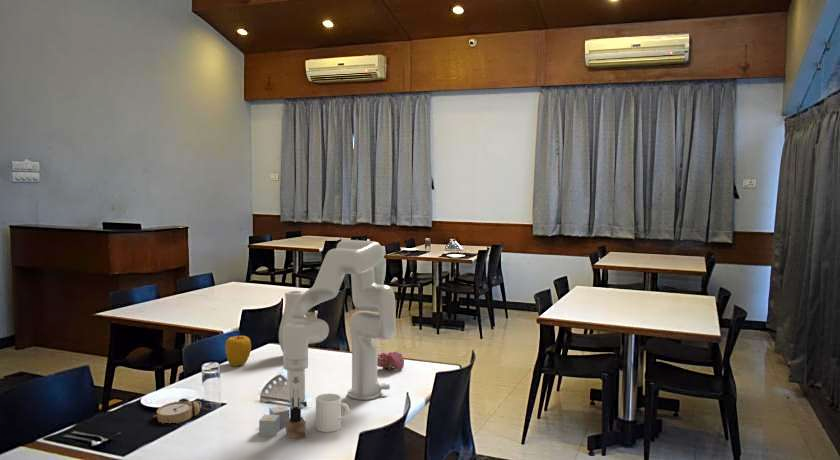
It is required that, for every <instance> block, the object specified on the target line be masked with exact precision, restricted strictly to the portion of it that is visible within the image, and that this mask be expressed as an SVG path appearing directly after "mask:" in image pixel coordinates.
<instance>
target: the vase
mask: <svg viewBox="0 0 840 460" xmlns="http://www.w3.org/2000/svg"><path fill="white" fill-rule="evenodd" d="M303 294H304V292H303V291H301V290H289V291H286V292H284V297H285V299H284V300H285V303H284V310H283V313H282V317H281V321H280V324H279V329H278V342H279V346H280V349H281V351H282V353H283V328H284V326H285V323H286V320H287V317H288V315H289V312H290V310H291V307H292V306H293V304H294V303H295V301H296V300H297V299H298V298H299V297H300V296H301V295H303ZM306 315H307V314H305V316H304V317H307V316H306Z"/></svg>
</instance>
